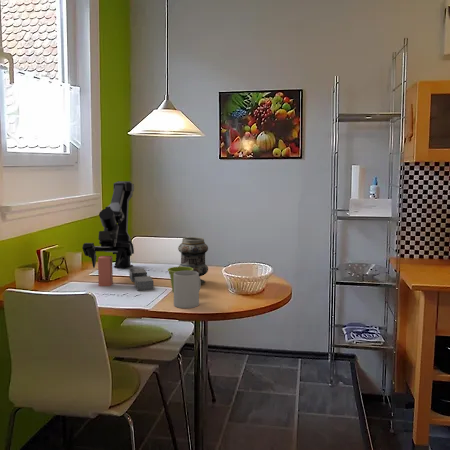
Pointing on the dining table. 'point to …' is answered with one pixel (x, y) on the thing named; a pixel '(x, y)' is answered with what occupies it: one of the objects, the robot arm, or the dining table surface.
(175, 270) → the plant pot
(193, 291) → the mug
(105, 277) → the pink rectangular block
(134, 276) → the gray block
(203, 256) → the apothecary jar
